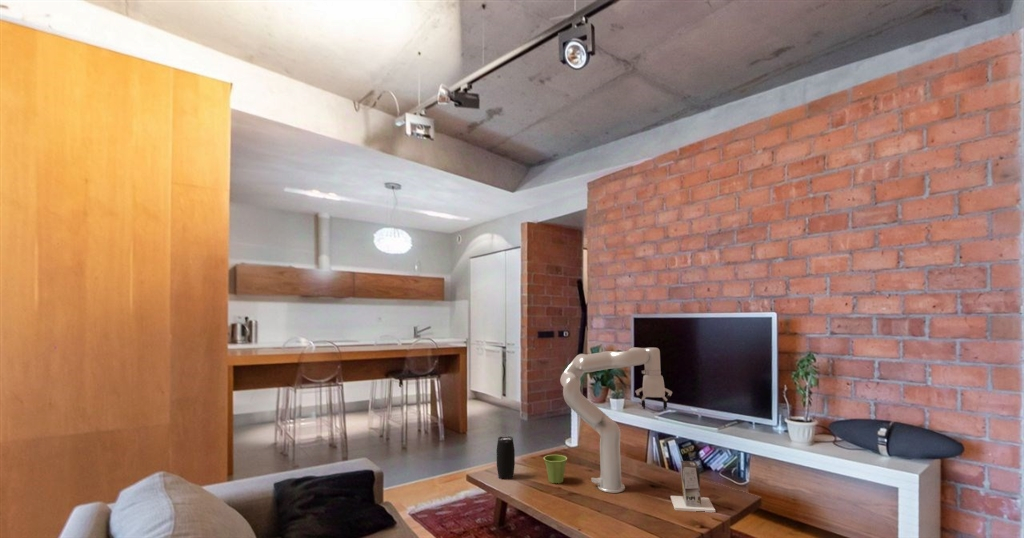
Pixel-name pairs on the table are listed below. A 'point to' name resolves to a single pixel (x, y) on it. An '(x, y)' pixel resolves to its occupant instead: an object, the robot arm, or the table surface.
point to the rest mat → (680, 505)
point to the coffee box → (690, 483)
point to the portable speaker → (505, 457)
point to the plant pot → (555, 467)
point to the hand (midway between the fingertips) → (654, 408)
